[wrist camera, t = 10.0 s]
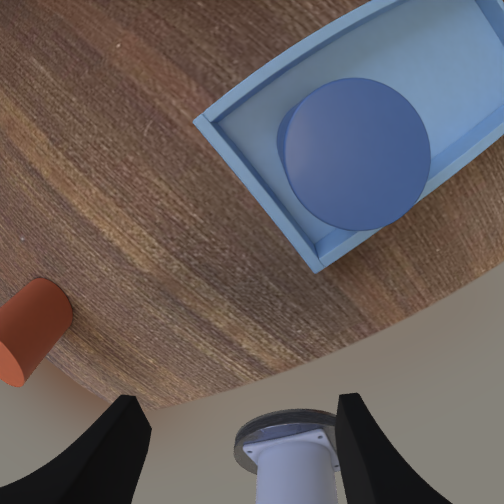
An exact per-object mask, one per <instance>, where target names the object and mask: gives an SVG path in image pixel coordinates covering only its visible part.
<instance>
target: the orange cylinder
mask: <svg viewBox="0 0 504 504" xmlns="http://www.w3.org/2000/svg"><path fill="white" fill-rule="evenodd" d="M72 320H73V312H72V308H71V305H70V303H69V300H68V299H67V297H66V295H65V294H64V293H63V291H62V290H61V289H60V288H59V287H58V286H57V285H56V284H54V283H53V282H51V281H49V280H47V279H44V278H36V279H34V280H32V281H31V282H30V283H29V284H27V285H26V286H25V287H24V288H23V289H21V290H20V291H19V292H18V293H17V294H16V295H14V296H13V297H12V298H11V299H10V300H9V301H7V302H6V303H5V304H4V305H3V306H2V307H1V308H0V379H1V380H3V381H4V382H6V383H7V384H9V385H11V386H14V387H21V386H23V385H24V383H25V382H26V381H27V379H28V378H29V377H30V375H31V374H32V373H33V371H34V370H35V369H36V367H37V366H38V365H39V364H40V362H41V361H42V360H43V358H44V357H45V356H46V355H47V353H48V352H49V351H50V350H51V348H52V347H53V346H54V345H55V343H56V342H57V341H58V340H59V338H60V337H61V336H62V335H63V334H64V332H65V331H66V330H67V329H68V327H69V326H70V325H71V323H72Z"/></svg>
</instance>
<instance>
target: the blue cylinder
mask: <svg viewBox="0 0 504 504" xmlns="http://www.w3.org/2000/svg"><path fill="white" fill-rule="evenodd" d="M276 142H277V150H278V155H279V157H280V160H281V163H282V166H283V169H284V171H285V174H286V177H287V180H288V183H289V185H290V187H291V189H292V191H293V193H294V194H295V196H296V197H297V199H298V200H299V202H300V203H301V204H302V205H303V206H304V208H305V209H306V210H308V211H309V212H310V213H311V214H312V215H313V216H315V217H316V218H317V219H319V220H320V221H322V222H324V223H326V224H328V225H330V226H333V227H336V228H338V229H343V230H347V231H369V230H374V229H378V228H381V227H384V226H387V225H389V224H391V223H393V222H395V221H396V220H398V219H399V218H401V217H402V216H403V215H404V214H406V213H407V212H408V211H409V210H410V209H411V208H412V207H413V206H414V204H415V203H416V202H417V200H418V199H419V197H420V195H421V194H422V192H423V190H424V188H425V185H426V182H427V179H428V176H429V172H430V164H431V150H430V142H429V138H428V134H427V131H426V128H425V125H424V123H423V121H422V119H421V117H420V116H419V114H418V113H417V111H416V110H415V108H414V107H413V106H412V105H411V104H410V102H409V101H408V100H407V99H406V98H405V97H403V96H402V95H401V94H400V93H399V92H397V91H396V90H394V89H393V88H391V87H389V86H387V85H385V84H383V83H380V82H378V81H375V80H371V79H365V78H343V79H338V80H334V81H331V82H329V83H326V84H324V85H322V86H320V87H318V88H317V89H315V90H314V91H312V92H311V93H310V94H309V95H307V96H306V97H305V98H304V99H302V100H301V101H300V102H299V103H297V104H296V105H295V106H294V107H292V108H291V109H290V110H289V111H288V112H287V113H286V115H285V116H284V117H283V119H282V121H281V123H280V125H279V128H278V132H277V141H276Z"/></svg>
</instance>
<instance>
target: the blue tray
mask: <svg viewBox="0 0 504 504" xmlns="http://www.w3.org/2000/svg"><path fill="white" fill-rule="evenodd" d="M343 78H365V79H371V80H375V81H378V82H380V83H383V84H385V85H387V86H389V87H391V88H393V89H394V90H396V91H397V92H399V93H400V94H401V95H402V96H403V97H405V98H406V99H407V100H408V101H409V102H410V104H411V105H412V106H413V107H414V108H415V110H416V111H417V113H418V114H419V116H420V117H421V119H422V121H423V123H424V125H425V128H426V131H427V134H428V138H429V142H430V150H431V164H430V172H429V176H428V179H427V182H426V185H425V188H424V190H423V192H422V194H421V195H420V197H419V199H418V200H417V202H419V201H420V200H421V199H423V198H424V197H425V196H427V195H428V194H429V193H431V192H432V191H433V190H434V189H436V188H437V187H438V186H440V185H441V184H442V183H444V182H445V181H446V180H447V179H449V178H450V177H451V176H453V175H454V174H455V173H456V172H458V171H459V170H460V169H462V168H463V167H464V166H465V165H467V164H468V163H469V162H470V161H472V160H473V159H474V158H475V157H477V156H478V155H479V154H480V153H482V152H483V151H484V150H485V149H486V148H488V147H489V146H490V145H491V144H493V143H494V142H495V141H496V140H497V139H499V138H500V137H501V136H502V135H503V134H504V3H503V1H502V0H372V1H370V2H368V3H366V4H364V5H362V6H360V7H358V8H356V9H355V10H353V11H351V12H349V13H347V14H345V15H343V16H342V17H340V18H338V19H336V20H335V21H333V22H331V23H329V24H328V25H326V26H324V27H323V28H321V29H319V30H317V31H316V32H314V33H313V34H311V35H309V36H308V37H306V38H304V39H303V40H301V41H300V42H298V43H297V44H295V45H294V46H292V47H290V48H289V49H287V50H286V51H284V52H283V53H281V54H280V55H278V56H277V57H275V58H274V59H273V60H271V61H270V62H268V63H267V64H265V65H264V66H263V67H261V68H260V69H258V70H257V71H256V72H254V73H253V74H251V75H250V76H249V77H247V78H246V79H245V80H243V81H242V82H241V83H239V84H238V85H237V86H235V87H234V88H233V89H231V90H230V91H229V92H228V93H226V94H225V95H224V96H222V97H221V98H220V99H219V100H217V101H216V102H215V103H214V104H212V105H211V106H210V107H209V108H208V109H206V110H205V111H204V112H203V114H200V115H199V116H198V117H197V118H196V119H194V120H193V124H194V125H195V126H196V127H197V128H198V130H199V131H200V132H201V133H202V134H203V136H204V137H205V138H206V139H207V140H208V142H209V143H210V144H211V145H212V146H213V147H214V149H215V150H216V151H217V152H218V153H219V155H220V156H221V157H222V158H223V159H224V161H225V162H226V163H227V164H228V165H229V167H230V168H231V169H232V170H233V172H234V173H235V174H236V175H237V176H238V178H239V179H240V180H241V181H242V183H243V184H244V185H245V186H246V187H247V189H248V190H249V191H250V192H251V194H252V195H253V196H254V197H255V199H256V200H257V201H258V202H259V204H260V205H261V206H262V207H263V209H264V210H265V211H266V212H267V214H268V215H269V216H270V217H271V219H272V220H273V221H274V222H275V224H276V225H277V226H278V227H279V229H280V230H281V231H282V232H283V234H284V235H285V236H286V237H287V239H288V240H289V241H290V243H291V244H292V245H293V246H294V248H295V249H296V250H297V252H298V253H299V254H300V255H301V257H302V258H303V259H304V261H305V262H306V263H307V264H308V266H309V267H310V268H311V270H312V271H313V272H314V273H315V274H316V273H318V272H319V271H321V270H322V269H324V267H327V266H328V265H330V264H331V263H333V262H334V261H336V260H337V259H339V258H340V257H342V256H343V255H345V254H346V253H347V252H349V251H350V250H352V249H353V248H355V247H356V246H358V245H359V244H360V243H362V242H363V241H365V240H366V239H368V238H369V237H370V236H372V235H373V234H375V233H376V232H377V231H379V230H380V229H382V228H383V227H381V228H378V229H374V230H369V231H347V230H343V229H338V228H336V227H333V226H330V225H328V224H326V223H324V222H322V221H320V220H319V219H317V218H316V217H315V216H313V215H312V214H311V213H310V212H309V211H308V210H306V209H305V208H304V206H303V205H302V204H301V203H300V202H299V200H298V199H297V197H296V196H295V194H294V193H293V191H292V189H291V187H290V185H289V183H288V180H287V177H286V174H285V171H284V169H283V166H282V163H281V160H280V157H279V155H278V150H277V142H276V141H277V132H278V128H279V125H280V123H281V121H282V119H283V117H284V116H285V115H286V113H287V112H288V111H289V110H290V109H291V108H292V107H294V106H295V105H296V104H297V103H299V102H300V101H301V100H302V99H304V98H305V97H306V96H307V95H309V94H310V93H311V92H312V91H314V90H315V89H317V88H318V87H320V86H322V85H324V84H326V83H329V82H331V81H334V80H338V79H343ZM417 202H416V203H417ZM416 203H415V204H416ZM415 204H414V205H415Z"/></svg>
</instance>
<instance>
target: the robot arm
mask: <svg viewBox="0 0 504 504" xmlns="http://www.w3.org/2000/svg"><path fill="white" fill-rule="evenodd" d="M334 429H335V440H336V449H337V454H336V452H335V451H334V449H333V447H332V445H331V443H330V441H329V439H328V437H327V435H326V433H325V431H324V430H323V429H316V430H312V431H308V432H304V433H300V434H296V435H291V436H287V437H282V438H278V439H273V440H268V441H262V442H257V443H251V444H246V445H244V446H243V451H244V452H245V453H246V454H247V455H248V456H249V457H250V458H251V459H252V460H253V461H254V462H255V463H256V464H257V465H258V470H257V489H256V504H338V499H337V491H336V482H335V475H334V472H337V471H341V475H342V479H343V484H344V488H345V494H346V498H347V503H348V504H452V503H451V502H450V501H448V500H447V499H446V498H445V497H443V496H442V495H440V494H439V493H438V492H437V491H436V490H434V489H433V488H432V487H431V486H430V485H429V484H427V482H426V481H424V480H423V479H422V478H421V477H420V476H419V475H418V474H417V473H416V472H415V471H414V470H413V469H412V467H411V466H410V465H409V464H408V463H407V462H406V461H405V460H404V458H403V457H402V456H401V455H400V454H399V453H398V451H397V450H396V449H395V448H394V447H393V445H392V444H391V442H390V441H389V440H388V439H387V437H386V436H385V435H384V433H383V431H382V430H381V429H380V427H379V426H378V424H377V423H376V421H375V420H374V418H373V417H372V415H371V414H370V412H369V410H368V409H367V407H366V405H365V404H364V402H363V400H362V398H361V396H360V395H359V394H358V393H350V394H342V395H339V402H338V409H337V415H336V422H335V428H334ZM151 430H152V428H151V426H150V424H149V422H148V420H147V418H146V417H145V414H144V412H143V411H142V409H141V407H140V405H139V402H138V400H137V398H136V396H130V395H120V396H119V397H118V398H117V399H116V400H115V401H114V402H113V404H112V405H111V406H110V407H109V408H108V409H107V410H106V411H105V412H104V413H103V414H102V415H101V416H100V417H99V418H98V419H97V420H96V421H95V422H94V423H93V424H92V425H91V426H90V427H89V428H88V429H87V430H86V431H85V432H84V433H83V434H82V435H81V436H80V437H79V438H78V439H77V440H76V441H75V442H74V443H72V444H71V445H70V446H69V447H68V448H67V449H66V450H64V451H63V452H62V453H61V454H59V455H58V456H57V457H55V458H54V459H53V460H51V461H50V462H49V463H47V464H46V465H44V466H43V467H41V468H39V469H38V470H36V471H34V472H33V473H31V474H30V475H27V476H26V477H24V478H22V479H20V480H17V481H15V482H13V483H11V484H8V485H6V486H3V487H0V504H131V502H132V498H133V494H134V492H135V489H136V486H137V482H138V479H139V476H140V473H141V470H142V467H143V464H144V461H145V458H146V455H147V452H148V447H149V442H150V436H151Z"/></svg>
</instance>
